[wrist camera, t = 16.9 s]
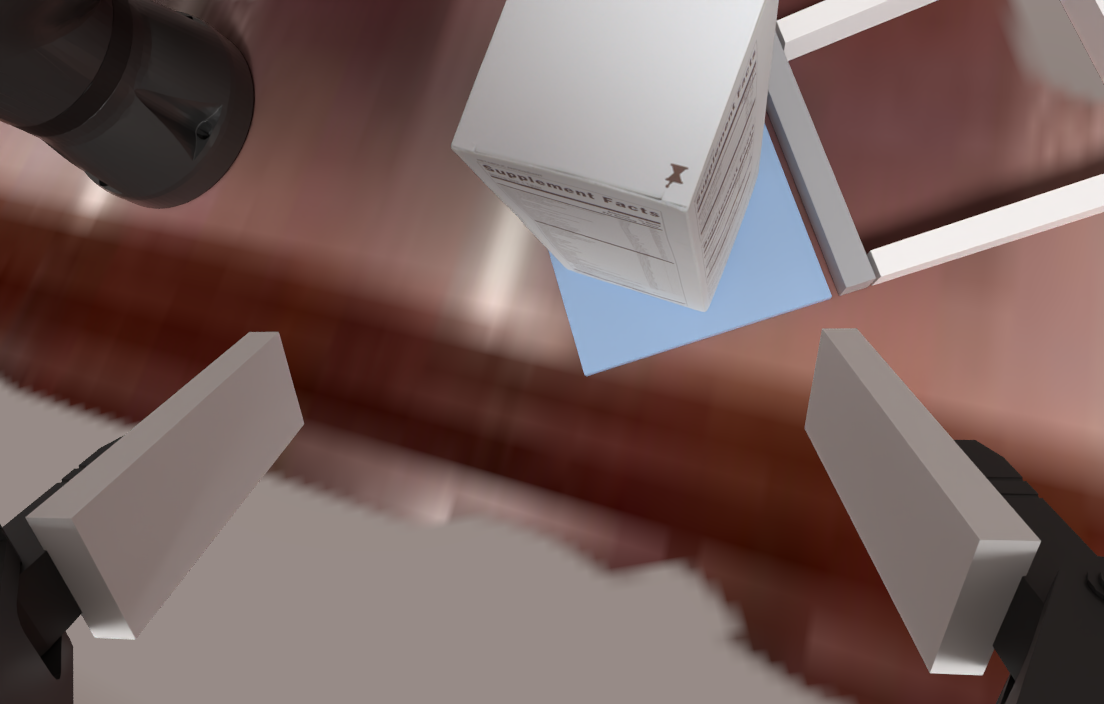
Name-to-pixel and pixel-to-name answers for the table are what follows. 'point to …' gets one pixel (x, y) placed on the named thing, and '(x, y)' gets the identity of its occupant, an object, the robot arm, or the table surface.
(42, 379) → the table surface
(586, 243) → the supplement box
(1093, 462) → the table surface
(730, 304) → the bay rack
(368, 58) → the table surface
